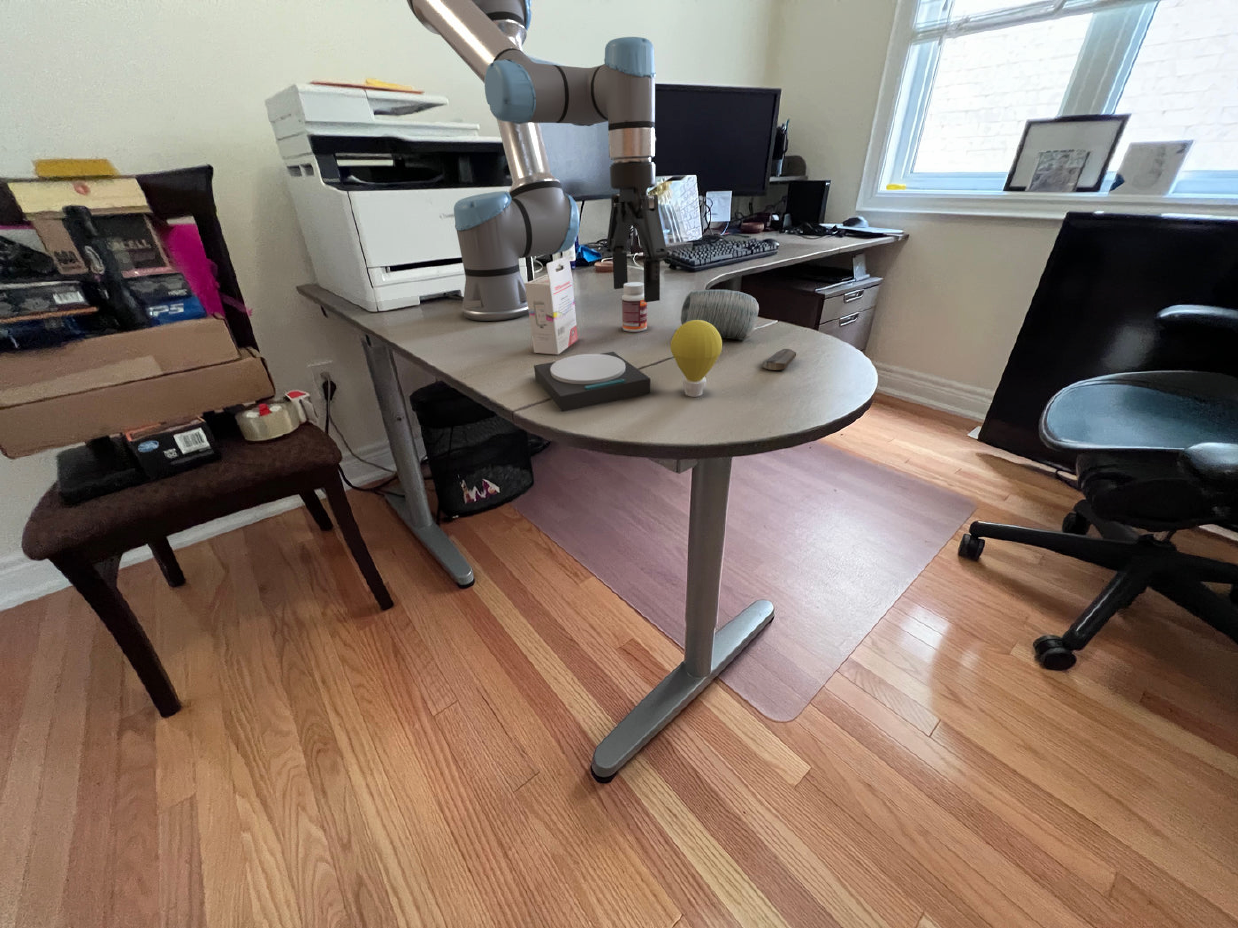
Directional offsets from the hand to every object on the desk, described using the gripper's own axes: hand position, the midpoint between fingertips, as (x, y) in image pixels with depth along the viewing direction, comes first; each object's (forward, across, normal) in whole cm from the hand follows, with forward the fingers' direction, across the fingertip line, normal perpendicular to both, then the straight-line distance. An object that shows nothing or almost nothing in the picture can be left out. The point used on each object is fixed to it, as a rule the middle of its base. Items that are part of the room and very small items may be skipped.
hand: (635, 294), depth 92 cm
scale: (+7, -23, +18) cm, 30 cm away
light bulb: (+7, -32, +6) cm, 33 cm away
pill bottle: (+7, 0, 0) cm, 7 cm away
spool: (+7, -12, -11) cm, 17 cm away
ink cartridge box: (+7, -3, +17) cm, 19 cm away
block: (+7, -29, -11) cm, 31 cm away
